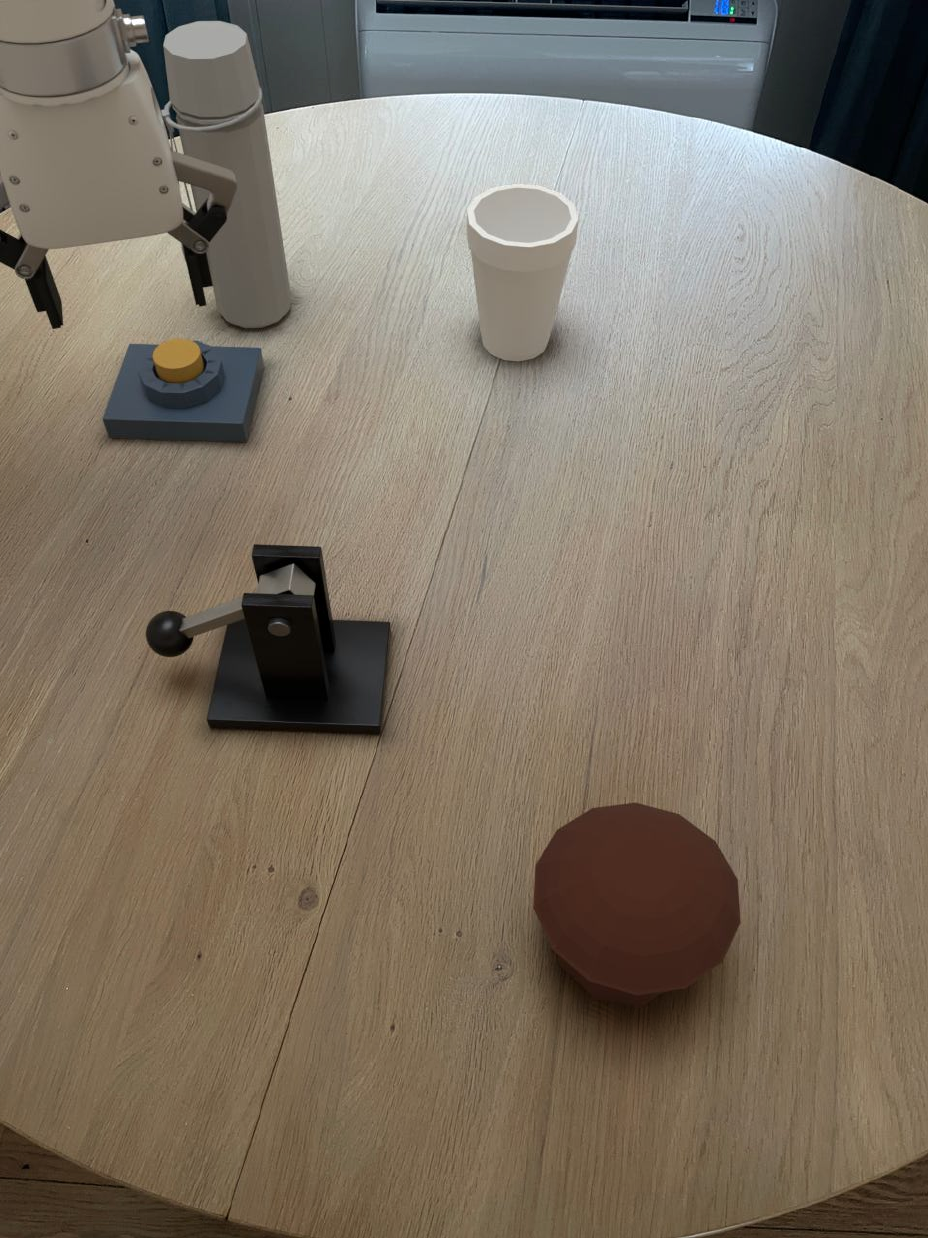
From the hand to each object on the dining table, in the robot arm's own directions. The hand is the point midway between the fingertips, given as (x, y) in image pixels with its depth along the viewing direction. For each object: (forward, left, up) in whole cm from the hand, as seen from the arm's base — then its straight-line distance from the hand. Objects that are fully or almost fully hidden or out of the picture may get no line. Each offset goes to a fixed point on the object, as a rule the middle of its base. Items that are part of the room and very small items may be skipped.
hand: (129, 305), depth 72 cm
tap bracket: (+12, -18, -18) cm, 29 cm away
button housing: (-2, +11, -18) cm, 21 cm away
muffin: (+34, -36, -18) cm, 53 cm away
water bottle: (+1, +24, -18) cm, 30 cm away
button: (-2, +11, -15) cm, 18 cm away
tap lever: (+9, -18, -12) cm, 24 cm away
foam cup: (+27, +21, -18) cm, 39 cm away
